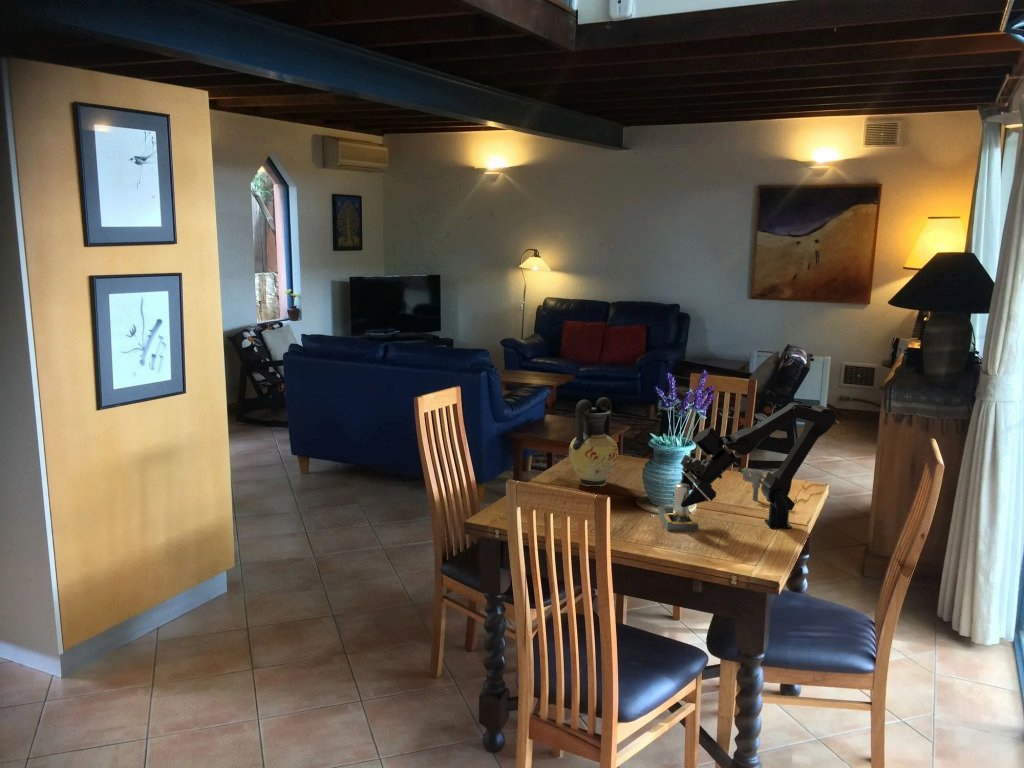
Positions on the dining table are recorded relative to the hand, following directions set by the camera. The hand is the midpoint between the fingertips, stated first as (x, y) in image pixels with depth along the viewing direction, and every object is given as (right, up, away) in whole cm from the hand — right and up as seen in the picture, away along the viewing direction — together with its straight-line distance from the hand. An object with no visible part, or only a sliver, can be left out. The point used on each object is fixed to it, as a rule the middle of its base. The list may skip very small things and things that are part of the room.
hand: (677, 501), depth 249 cm
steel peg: (+1, -7, +1) cm, 8 cm away
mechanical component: (+31, -4, +27) cm, 41 cm away
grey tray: (+1, -7, +5) cm, 8 cm away
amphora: (-21, 0, +42) cm, 47 cm away
